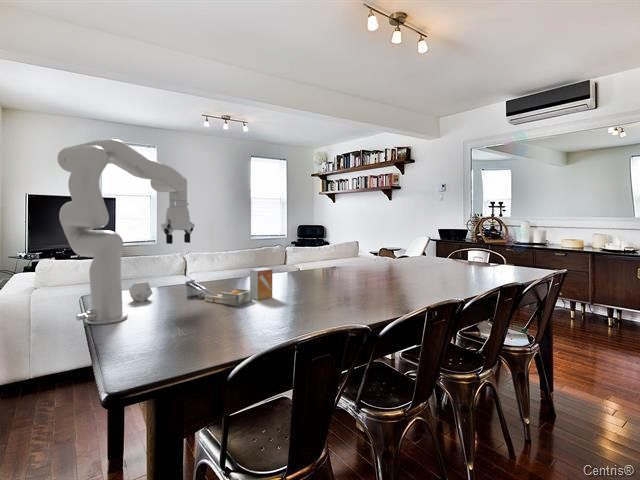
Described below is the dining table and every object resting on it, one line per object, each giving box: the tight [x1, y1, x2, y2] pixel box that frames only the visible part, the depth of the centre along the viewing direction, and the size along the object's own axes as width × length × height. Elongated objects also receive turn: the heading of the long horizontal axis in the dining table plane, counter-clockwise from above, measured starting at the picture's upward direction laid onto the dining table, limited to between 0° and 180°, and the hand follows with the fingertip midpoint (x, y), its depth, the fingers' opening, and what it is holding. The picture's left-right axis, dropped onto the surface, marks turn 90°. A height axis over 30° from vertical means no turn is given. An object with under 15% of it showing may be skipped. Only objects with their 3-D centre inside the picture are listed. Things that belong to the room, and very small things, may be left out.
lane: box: [204, 288, 253, 307], centre depth 155 cm, size 10×18×4 cm, turn 64°
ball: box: [230, 289, 240, 294], centre depth 153 cm, size 4×4×4 cm
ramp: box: [184, 279, 217, 299], centre depth 161 cm, size 5×15×7 cm, turn 64°
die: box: [128, 281, 153, 303], centre depth 154 cm, size 8×9×10 cm
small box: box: [249, 267, 273, 301], centre depth 160 cm, size 8×6×13 cm
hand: (178, 243), depth 160 cm, fingers open, 9 cm apart
